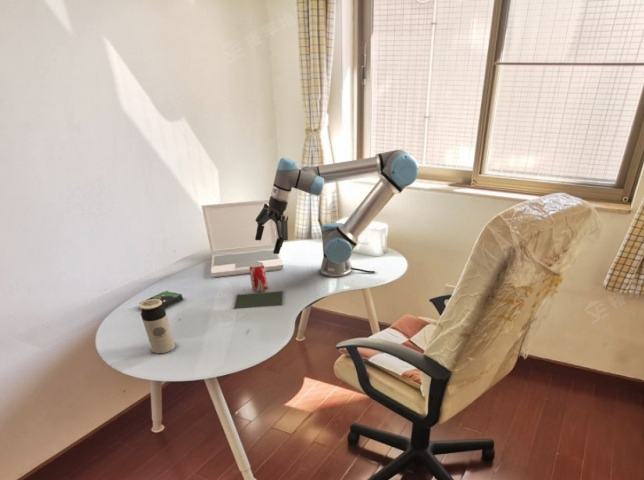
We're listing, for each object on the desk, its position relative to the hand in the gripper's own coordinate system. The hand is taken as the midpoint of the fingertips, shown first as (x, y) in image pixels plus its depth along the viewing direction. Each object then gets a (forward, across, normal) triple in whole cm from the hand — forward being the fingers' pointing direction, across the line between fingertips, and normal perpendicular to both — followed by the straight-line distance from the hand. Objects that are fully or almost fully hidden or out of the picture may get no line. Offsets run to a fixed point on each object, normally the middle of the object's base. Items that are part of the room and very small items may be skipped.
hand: (266, 246), depth 201 cm
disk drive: (+36, -16, -34) cm, 52 cm away
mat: (+20, +11, -6) cm, 24 cm away
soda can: (+20, +3, +1) cm, 20 cm away
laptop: (+23, -29, +16) cm, 40 cm away
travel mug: (+32, +21, -53) cm, 65 cm away
